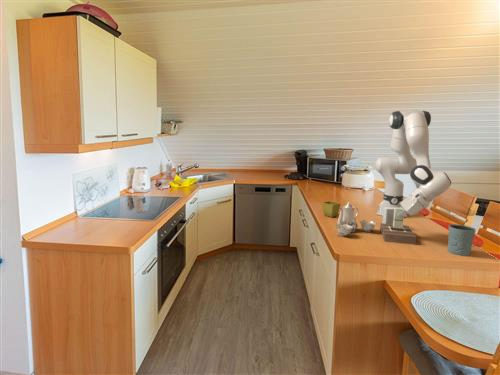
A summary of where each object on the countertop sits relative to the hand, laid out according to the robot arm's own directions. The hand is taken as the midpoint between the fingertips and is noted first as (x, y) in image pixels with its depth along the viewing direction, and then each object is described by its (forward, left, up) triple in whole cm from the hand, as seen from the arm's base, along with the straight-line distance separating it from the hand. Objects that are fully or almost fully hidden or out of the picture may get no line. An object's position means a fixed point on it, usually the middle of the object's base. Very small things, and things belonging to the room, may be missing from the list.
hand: (397, 215), depth 162 cm
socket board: (0, +1, -12) cm, 12 cm away
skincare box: (-15, -1, -12) cm, 19 cm away
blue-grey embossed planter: (+15, +25, -12) cm, 31 cm away
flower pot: (-32, -34, -12) cm, 48 cm away
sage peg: (0, +1, -6) cm, 6 cm away
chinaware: (-1, -22, -12) cm, 25 cm away
